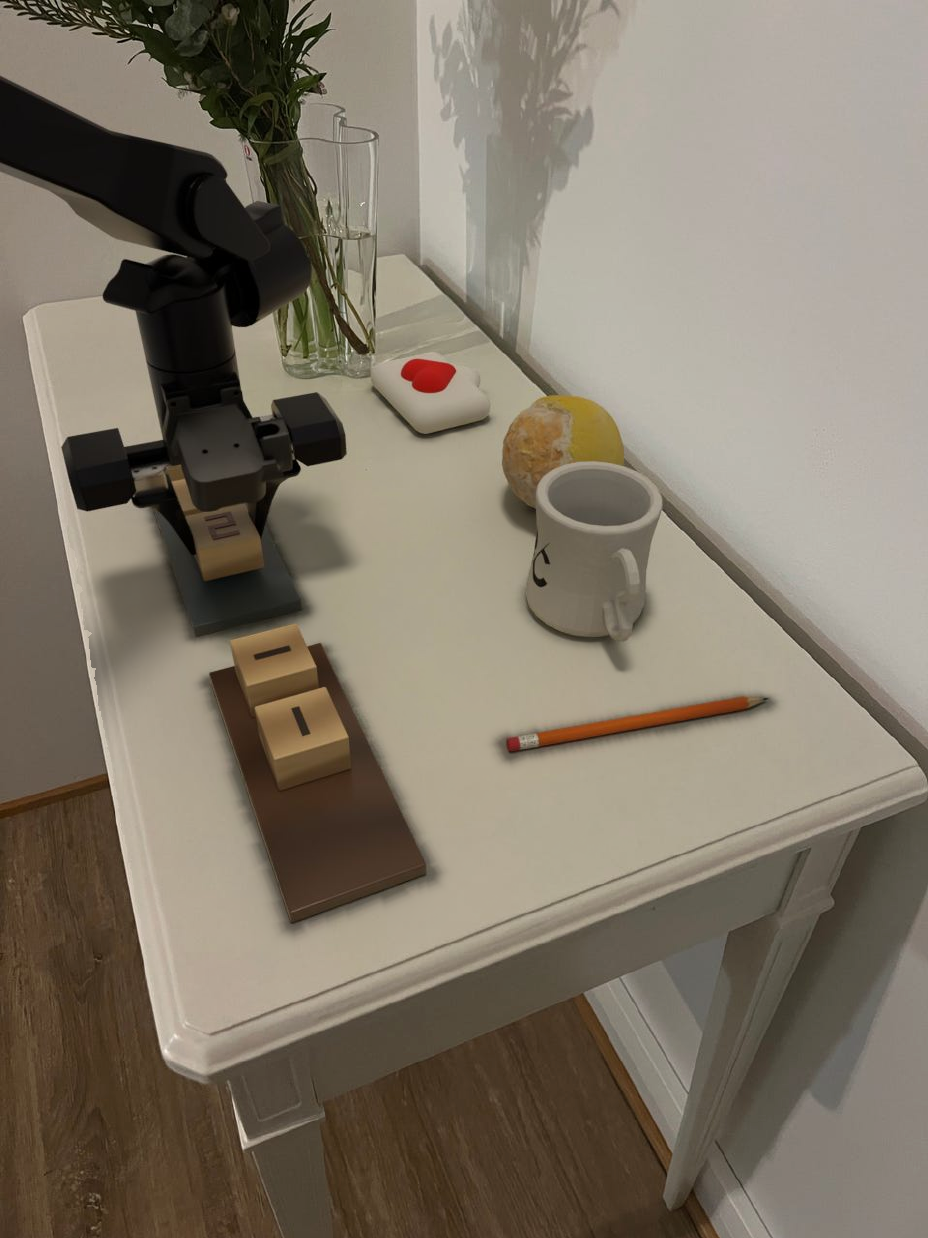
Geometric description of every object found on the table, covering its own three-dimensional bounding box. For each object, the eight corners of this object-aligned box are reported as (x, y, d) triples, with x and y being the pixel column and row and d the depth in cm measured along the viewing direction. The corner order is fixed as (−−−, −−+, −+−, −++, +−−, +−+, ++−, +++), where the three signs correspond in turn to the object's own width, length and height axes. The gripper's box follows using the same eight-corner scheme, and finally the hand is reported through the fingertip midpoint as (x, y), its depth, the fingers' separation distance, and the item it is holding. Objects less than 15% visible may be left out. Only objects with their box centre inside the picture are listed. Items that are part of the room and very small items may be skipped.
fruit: (554, 462, 87) (564, 362, 81) (641, 515, 81) (660, 412, 74) (471, 500, 82) (475, 397, 75) (557, 560, 76) (570, 454, 69)
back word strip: (302, 609, 71) (297, 567, 68) (195, 637, 68) (186, 594, 65) (233, 463, 86) (226, 424, 83) (143, 481, 83) (134, 441, 80)
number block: (264, 567, 71) (259, 535, 69) (204, 582, 70) (197, 549, 68) (249, 534, 74) (244, 502, 72) (191, 547, 73) (184, 514, 71)
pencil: (505, 744, 61) (506, 735, 61) (765, 698, 65) (768, 689, 65) (509, 754, 61) (510, 745, 60) (771, 707, 64) (774, 698, 64)
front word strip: (426, 874, 54) (426, 832, 51) (291, 923, 51) (283, 881, 48) (321, 652, 67) (317, 609, 65) (210, 682, 65) (201, 639, 62)
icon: (511, 378, 90) (418, 400, 86) (509, 418, 93) (418, 441, 89) (452, 329, 98) (365, 347, 94) (452, 367, 101) (366, 386, 97)
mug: (510, 574, 75) (518, 466, 68) (617, 559, 76) (635, 453, 70) (560, 682, 66) (575, 571, 59) (679, 662, 67) (707, 552, 61)
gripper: (53, 439, 53) (114, 643, 63) (367, 383, 59) (376, 577, 69) (34, 356, 60) (92, 549, 71) (314, 313, 66) (329, 498, 76)
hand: (225, 544), depth 71 cm, fingers closed on number block, 4 cm apart
